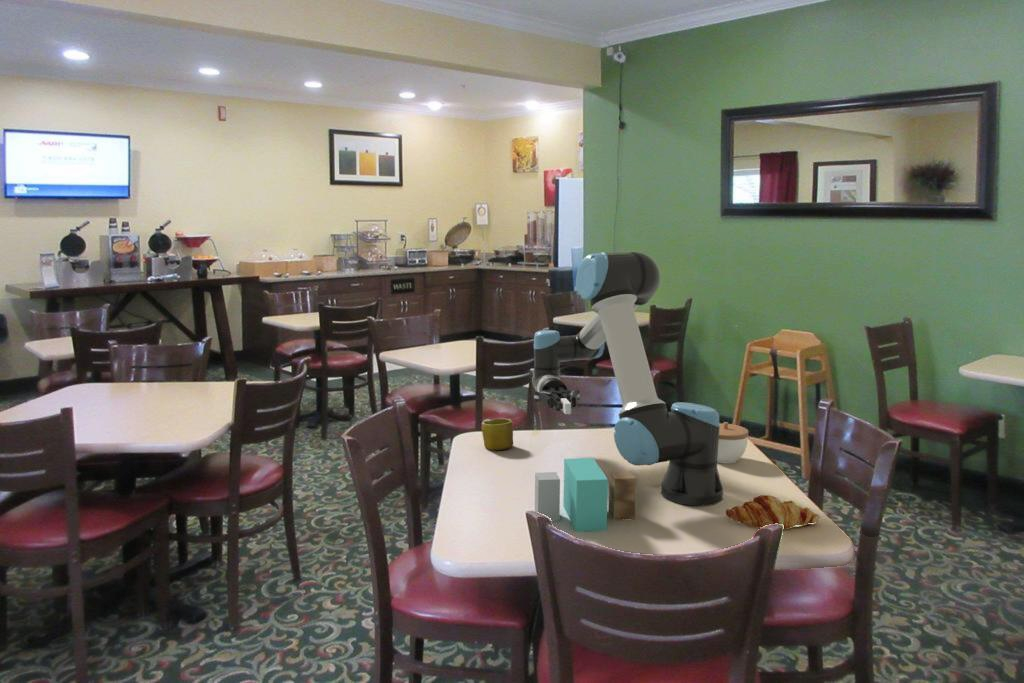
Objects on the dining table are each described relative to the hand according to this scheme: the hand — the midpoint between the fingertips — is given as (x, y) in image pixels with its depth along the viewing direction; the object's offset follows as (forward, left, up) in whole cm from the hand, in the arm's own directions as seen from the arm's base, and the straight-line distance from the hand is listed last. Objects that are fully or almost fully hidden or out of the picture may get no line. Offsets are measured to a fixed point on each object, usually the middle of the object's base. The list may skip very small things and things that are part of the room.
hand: (568, 408), depth 195 cm
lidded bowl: (-49, -17, -21) cm, 56 cm away
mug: (+15, -37, -21) cm, 45 cm away
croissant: (-43, +28, -21) cm, 55 cm away
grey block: (+8, +19, -21) cm, 29 cm away
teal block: (0, +20, -21) cm, 29 cm away
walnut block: (-9, +20, -21) cm, 30 cm away
